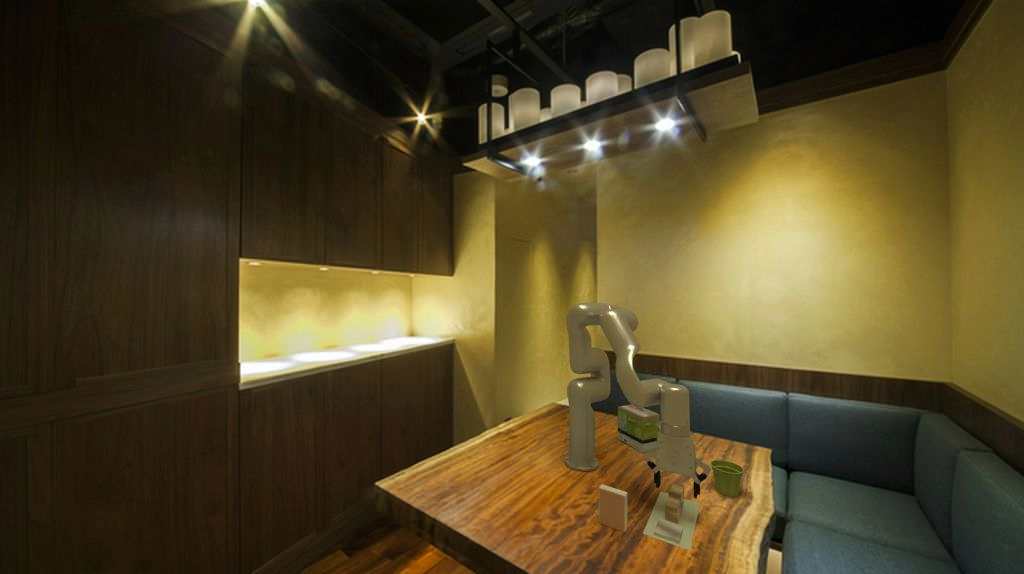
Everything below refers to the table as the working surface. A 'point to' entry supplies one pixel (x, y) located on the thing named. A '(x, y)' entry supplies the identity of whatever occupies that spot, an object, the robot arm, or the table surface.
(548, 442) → the table surface
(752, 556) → the table surface
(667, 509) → the turner
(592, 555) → the table surface
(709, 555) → the table surface
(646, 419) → the tea box
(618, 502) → the tile
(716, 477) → the plant pot
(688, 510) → the board
